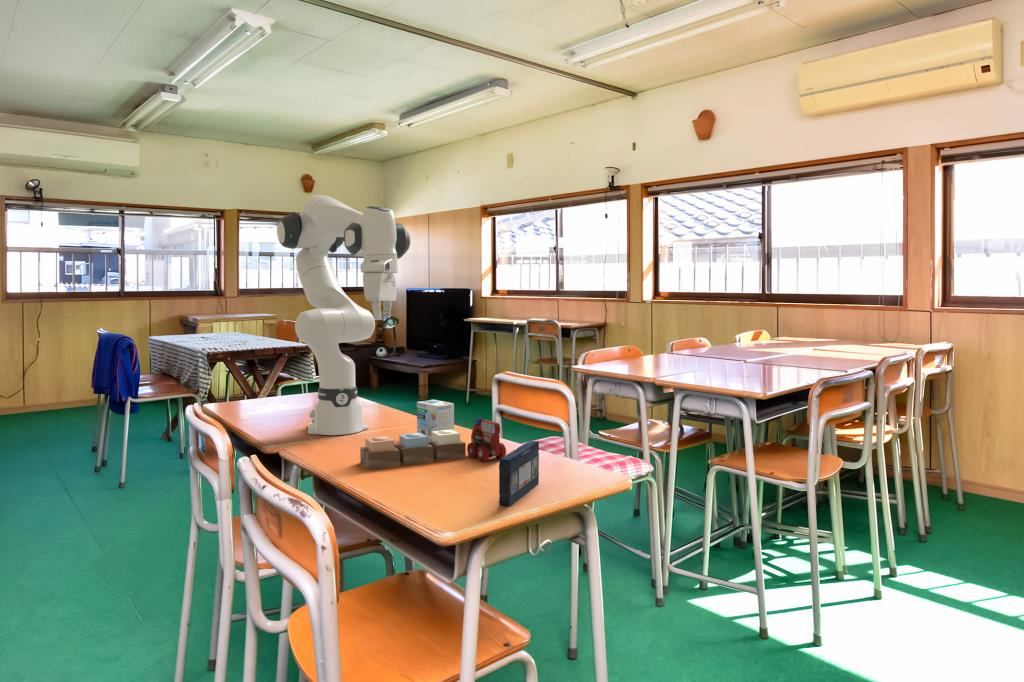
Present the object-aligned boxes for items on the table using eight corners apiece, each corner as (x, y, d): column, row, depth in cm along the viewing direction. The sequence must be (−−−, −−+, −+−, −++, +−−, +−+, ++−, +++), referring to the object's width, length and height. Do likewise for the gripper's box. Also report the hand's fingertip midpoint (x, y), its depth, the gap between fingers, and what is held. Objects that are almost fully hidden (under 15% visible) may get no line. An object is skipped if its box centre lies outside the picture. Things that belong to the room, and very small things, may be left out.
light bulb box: (416, 436, 208) (415, 401, 208) (434, 433, 213) (433, 399, 212) (437, 442, 200) (436, 405, 200) (455, 438, 205) (454, 403, 204)
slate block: (399, 449, 180) (399, 433, 179) (420, 447, 182) (420, 431, 182) (406, 454, 175) (406, 437, 174) (427, 451, 177) (427, 435, 177)
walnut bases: (360, 462, 176) (360, 447, 176) (454, 451, 188) (454, 437, 188) (368, 469, 169) (368, 453, 169) (465, 457, 181) (465, 442, 181)
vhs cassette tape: (509, 507, 139) (509, 459, 138) (496, 506, 140) (496, 458, 140) (541, 484, 156) (541, 441, 155) (529, 483, 157) (529, 440, 156)
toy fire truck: (484, 451, 188) (484, 414, 188) (509, 460, 178) (509, 421, 177) (462, 455, 185) (462, 416, 184) (487, 464, 174) (486, 424, 174)
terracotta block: (365, 453, 176) (365, 437, 175) (387, 451, 178) (387, 434, 178) (371, 458, 170) (371, 441, 170) (394, 455, 173) (393, 439, 173)
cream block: (431, 446, 184) (431, 430, 183) (451, 443, 186) (451, 428, 186) (439, 450, 179) (439, 434, 178) (460, 448, 181) (459, 432, 181)
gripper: (379, 268, 194) (380, 317, 195) (358, 264, 174) (360, 319, 174) (401, 268, 194) (402, 317, 194) (382, 264, 173) (384, 318, 174)
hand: (382, 318), depth 184 cm, fingers open, 8 cm apart
